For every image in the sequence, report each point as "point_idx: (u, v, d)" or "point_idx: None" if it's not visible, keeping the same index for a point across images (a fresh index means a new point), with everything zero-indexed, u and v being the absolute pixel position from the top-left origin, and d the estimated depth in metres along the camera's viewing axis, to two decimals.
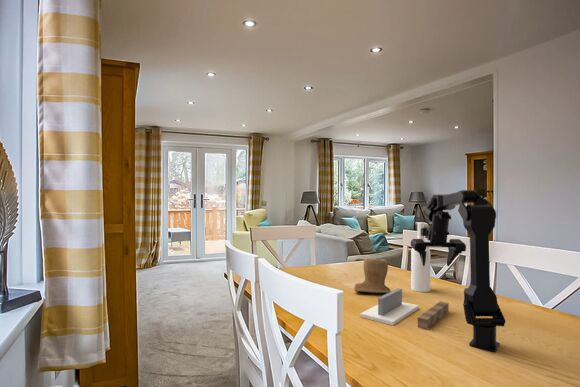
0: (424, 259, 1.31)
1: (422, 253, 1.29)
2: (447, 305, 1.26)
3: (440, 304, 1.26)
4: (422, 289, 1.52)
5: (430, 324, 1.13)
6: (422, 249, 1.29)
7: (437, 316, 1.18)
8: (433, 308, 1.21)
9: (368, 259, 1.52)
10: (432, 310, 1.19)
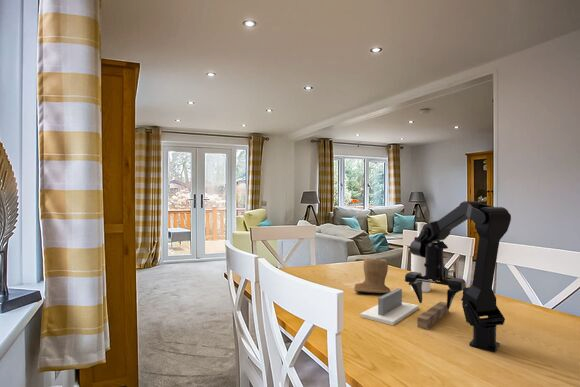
0: (417, 294, 1.22)
1: (412, 285, 1.22)
2: None
3: (441, 304, 1.26)
4: (422, 289, 1.52)
5: (430, 324, 1.13)
6: (411, 280, 1.22)
7: (437, 316, 1.18)
8: (433, 308, 1.21)
9: (368, 259, 1.52)
10: (432, 310, 1.19)
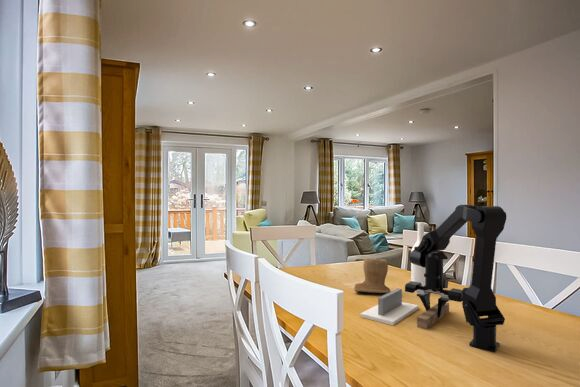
0: (425, 305, 1.20)
1: (420, 297, 1.20)
2: (448, 305, 1.26)
3: None
4: None
5: (429, 324, 1.13)
6: (411, 290, 1.22)
7: (437, 316, 1.18)
8: (433, 308, 1.21)
9: (368, 259, 1.52)
10: (432, 310, 1.19)
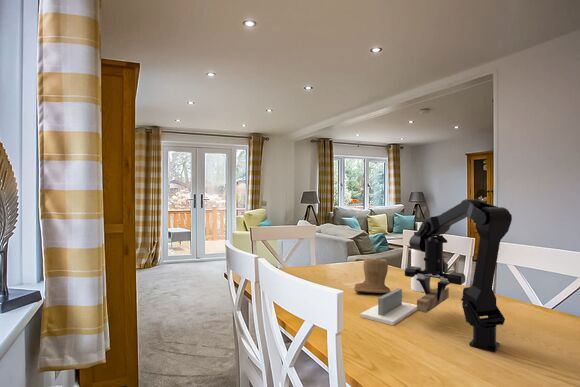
0: (425, 289, 1.20)
1: (420, 281, 1.20)
2: (447, 290, 1.26)
3: None
4: (422, 289, 1.52)
5: (429, 307, 1.13)
6: (411, 275, 1.22)
7: (436, 300, 1.18)
8: (433, 292, 1.21)
9: (368, 259, 1.52)
10: (431, 294, 1.19)
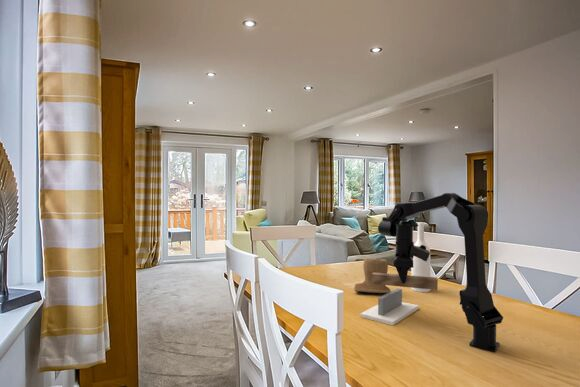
0: None
1: None
2: (433, 281, 1.20)
3: (426, 277, 1.22)
4: (422, 289, 1.52)
5: (380, 281, 1.26)
6: (395, 255, 1.32)
7: (399, 280, 1.23)
8: (407, 275, 1.24)
9: (368, 259, 1.52)
10: None
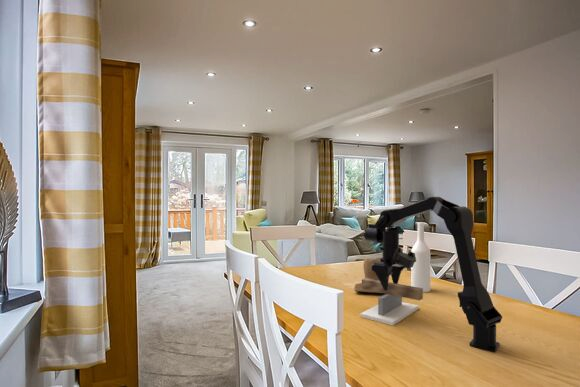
0: None
1: None
2: (415, 291, 1.18)
3: (411, 287, 1.21)
4: None
5: (368, 286, 1.30)
6: None
7: None
8: (394, 283, 1.26)
9: (368, 259, 1.52)
10: (388, 283, 1.27)
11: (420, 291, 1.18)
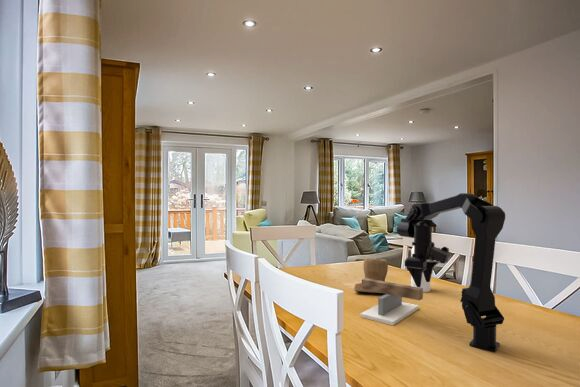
0: None
1: None
2: (415, 291, 1.18)
3: (411, 287, 1.21)
4: None
5: (368, 286, 1.30)
6: None
7: (384, 287, 1.26)
8: (394, 283, 1.26)
9: (368, 259, 1.52)
10: (388, 283, 1.27)
11: (420, 291, 1.18)
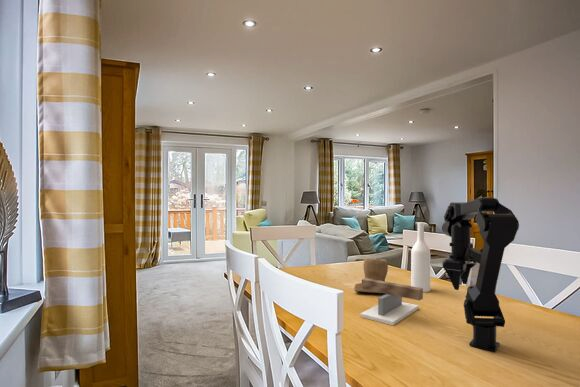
0: None
1: None
2: (415, 291, 1.18)
3: (411, 287, 1.21)
4: None
5: (368, 286, 1.30)
6: None
7: (384, 287, 1.26)
8: (394, 283, 1.26)
9: (368, 259, 1.52)
10: (388, 283, 1.27)
11: (420, 291, 1.18)
